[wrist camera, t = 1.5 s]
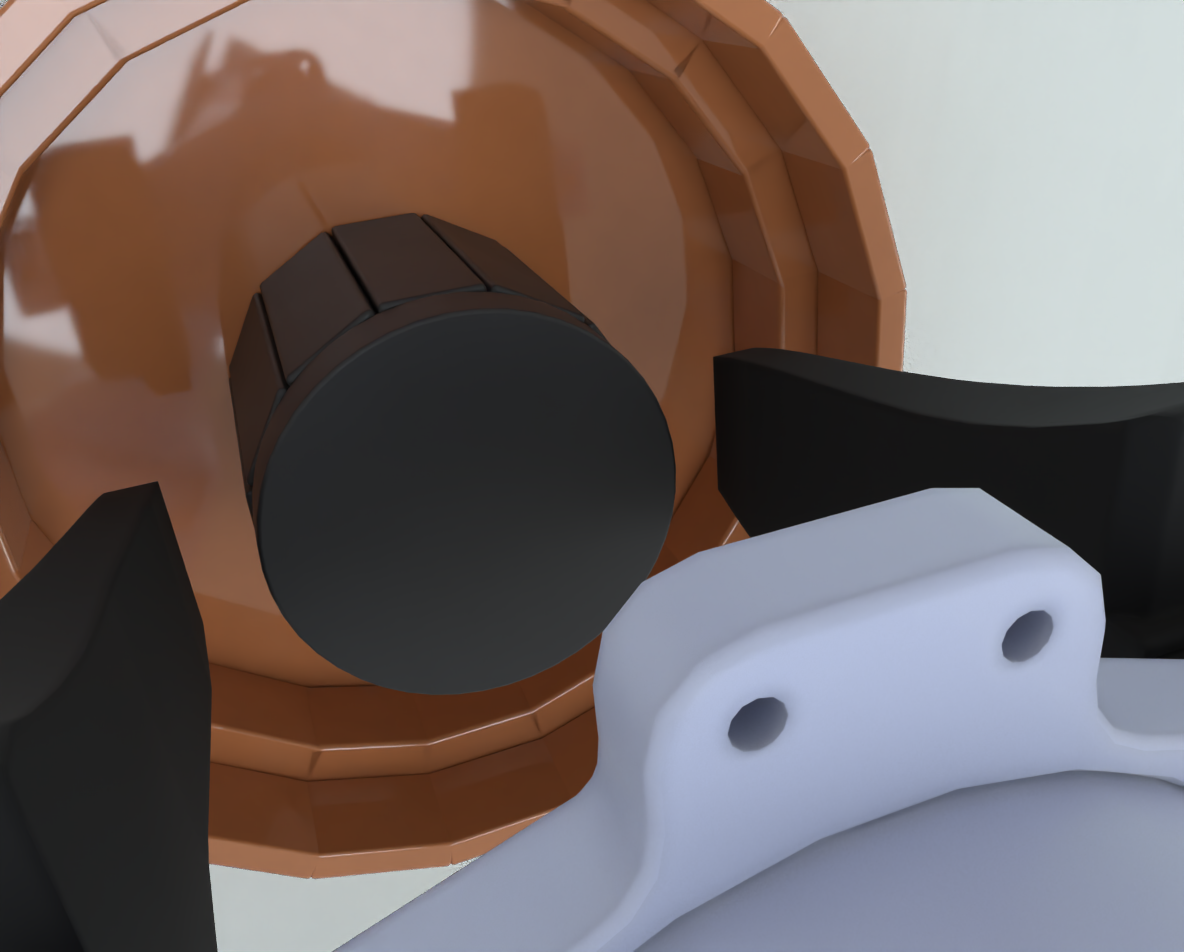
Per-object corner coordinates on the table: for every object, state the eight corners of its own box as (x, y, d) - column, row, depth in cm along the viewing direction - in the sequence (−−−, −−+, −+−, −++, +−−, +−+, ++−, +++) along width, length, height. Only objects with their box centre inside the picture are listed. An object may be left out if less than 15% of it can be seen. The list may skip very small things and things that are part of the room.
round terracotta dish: (778, 605, 23) (886, 720, 19) (79, 813, 19) (61, 999, 16) (772, -156, 16) (933, -186, 13) (-297, -63, 12) (-472, -70, 9)
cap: (571, 482, 19) (687, 633, 15) (276, 556, 18) (310, 745, 13) (538, 189, 17) (666, 270, 12) (193, 249, 15) (203, 361, 11)
